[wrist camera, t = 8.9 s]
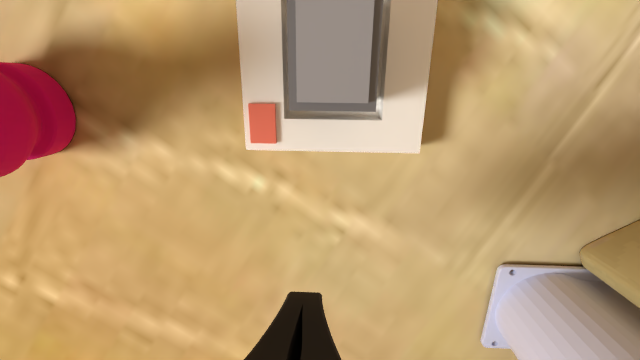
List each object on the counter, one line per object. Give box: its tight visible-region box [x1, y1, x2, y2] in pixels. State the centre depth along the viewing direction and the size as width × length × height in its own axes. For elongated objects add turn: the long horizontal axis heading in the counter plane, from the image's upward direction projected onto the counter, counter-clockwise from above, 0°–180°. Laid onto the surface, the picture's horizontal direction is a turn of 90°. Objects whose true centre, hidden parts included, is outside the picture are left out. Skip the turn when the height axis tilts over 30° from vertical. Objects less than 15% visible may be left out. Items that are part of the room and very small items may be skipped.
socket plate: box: [236, 0, 438, 153], centre depth 18 cm, size 11×11×2 cm
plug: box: [287, 0, 383, 112], centre depth 16 cm, size 4×5×6 cm
